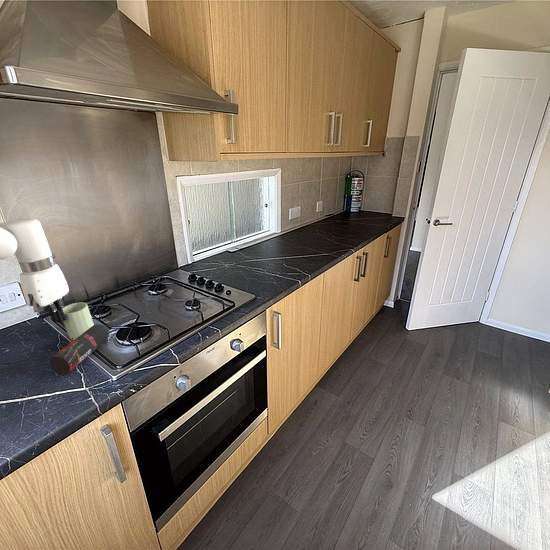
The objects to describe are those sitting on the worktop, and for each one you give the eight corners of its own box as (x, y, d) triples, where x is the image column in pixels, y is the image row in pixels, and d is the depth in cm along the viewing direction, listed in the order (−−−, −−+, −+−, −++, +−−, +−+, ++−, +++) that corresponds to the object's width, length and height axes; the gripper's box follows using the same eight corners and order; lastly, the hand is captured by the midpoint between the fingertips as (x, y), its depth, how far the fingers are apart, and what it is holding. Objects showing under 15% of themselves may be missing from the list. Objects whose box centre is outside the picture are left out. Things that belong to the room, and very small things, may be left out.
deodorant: (73, 365, 77) (111, 332, 90) (53, 352, 76) (94, 321, 90) (66, 377, 79) (105, 343, 93) (47, 365, 78) (88, 332, 92)
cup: (63, 338, 94) (53, 313, 90) (81, 326, 100) (72, 301, 97) (83, 340, 92) (74, 314, 89) (100, 327, 99) (92, 303, 95)
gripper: (49, 254, 88) (69, 307, 95) (-2, 274, 74) (26, 334, 82) (71, 255, 87) (89, 309, 94) (23, 275, 73) (48, 336, 80)
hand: (59, 320), depth 88 cm, fingers closed
